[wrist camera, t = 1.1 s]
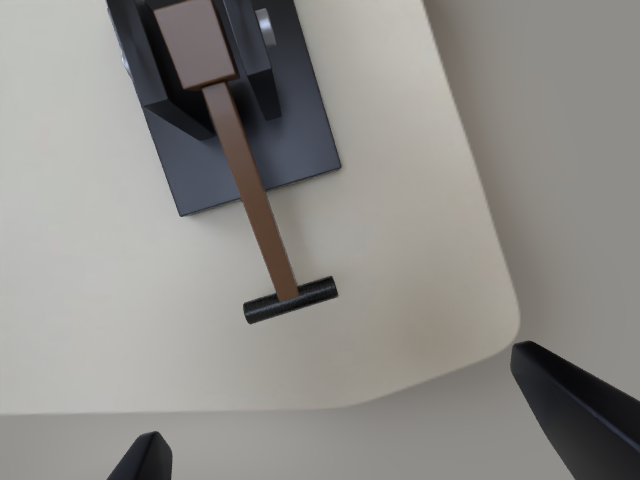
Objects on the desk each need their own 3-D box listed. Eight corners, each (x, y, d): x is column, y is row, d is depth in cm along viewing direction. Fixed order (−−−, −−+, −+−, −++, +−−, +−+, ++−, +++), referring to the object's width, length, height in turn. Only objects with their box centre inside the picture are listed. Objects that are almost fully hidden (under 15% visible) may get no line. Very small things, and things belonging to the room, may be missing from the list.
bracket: (339, 169, 23) (365, 149, 14) (185, 216, 22) (113, 225, 14) (281, -30, 21) (269, -191, 13) (117, 18, 21) (-13, -112, 12)
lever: (334, 285, 21) (342, 306, 19) (251, 311, 21) (249, 335, 19) (249, 0, 16) (246, -18, 13) (137, 33, 15) (114, 21, 13)
